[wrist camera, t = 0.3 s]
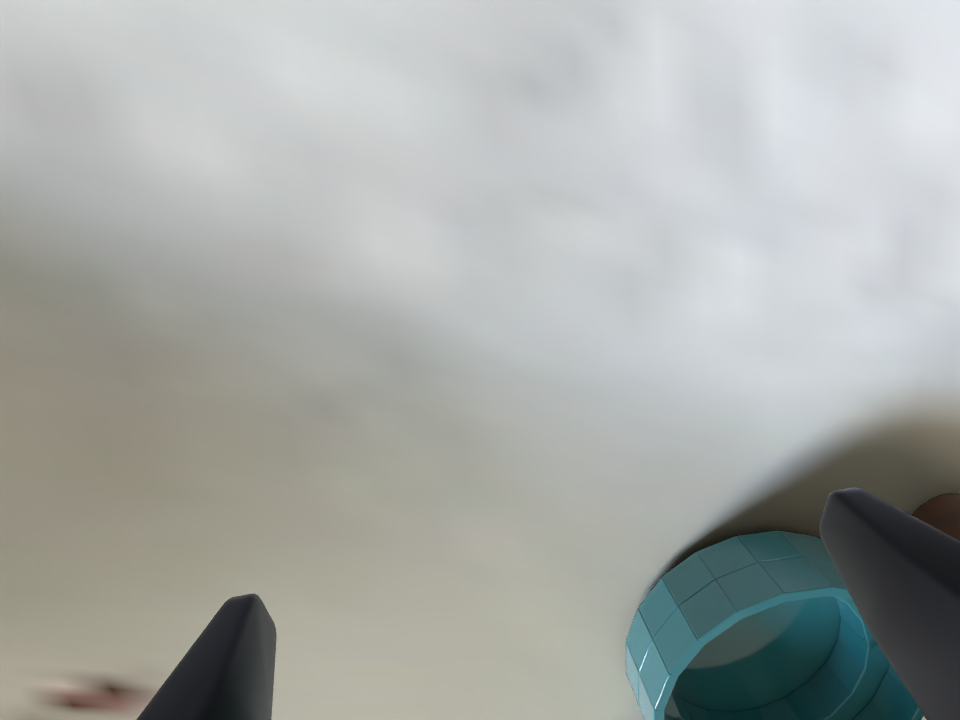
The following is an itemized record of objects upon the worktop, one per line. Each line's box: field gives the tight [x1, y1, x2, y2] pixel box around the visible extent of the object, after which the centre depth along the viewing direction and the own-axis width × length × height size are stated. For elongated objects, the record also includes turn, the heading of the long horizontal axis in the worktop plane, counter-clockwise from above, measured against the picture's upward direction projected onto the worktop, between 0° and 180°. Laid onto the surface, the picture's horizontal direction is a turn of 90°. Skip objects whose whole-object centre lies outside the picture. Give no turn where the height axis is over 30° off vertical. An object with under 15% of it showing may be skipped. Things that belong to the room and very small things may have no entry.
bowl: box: [626, 531, 924, 720], centre depth 28 cm, size 13×13×4 cm
